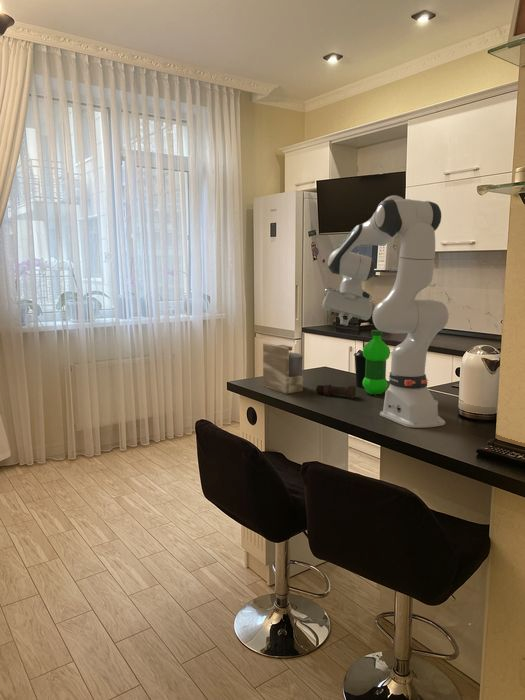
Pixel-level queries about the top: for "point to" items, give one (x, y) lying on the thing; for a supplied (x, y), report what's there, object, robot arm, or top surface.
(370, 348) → the plastic bottle
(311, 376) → the top surface
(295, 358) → the pillar candle
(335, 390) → the bolt
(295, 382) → the cradle
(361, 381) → the drinking cup
